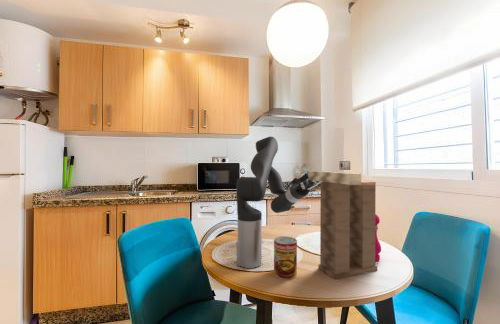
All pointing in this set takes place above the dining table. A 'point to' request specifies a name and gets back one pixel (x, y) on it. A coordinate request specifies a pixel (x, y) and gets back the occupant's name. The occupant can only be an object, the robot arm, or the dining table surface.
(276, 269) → the canned food
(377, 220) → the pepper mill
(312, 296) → the dining table surface
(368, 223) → the walnut rack
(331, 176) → the birch bar
